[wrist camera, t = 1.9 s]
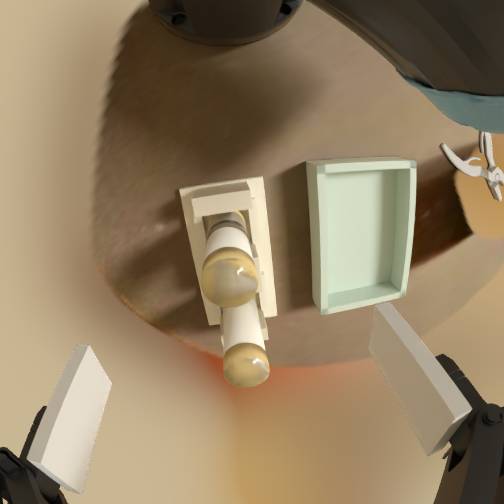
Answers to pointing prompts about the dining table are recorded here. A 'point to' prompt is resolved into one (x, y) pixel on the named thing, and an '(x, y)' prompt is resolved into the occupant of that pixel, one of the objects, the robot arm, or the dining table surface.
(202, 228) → the fuse holder
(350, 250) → the parts tray
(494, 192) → the pliers
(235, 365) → the fuse
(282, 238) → the dining table surface
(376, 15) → the robot arm
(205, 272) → the fuse
